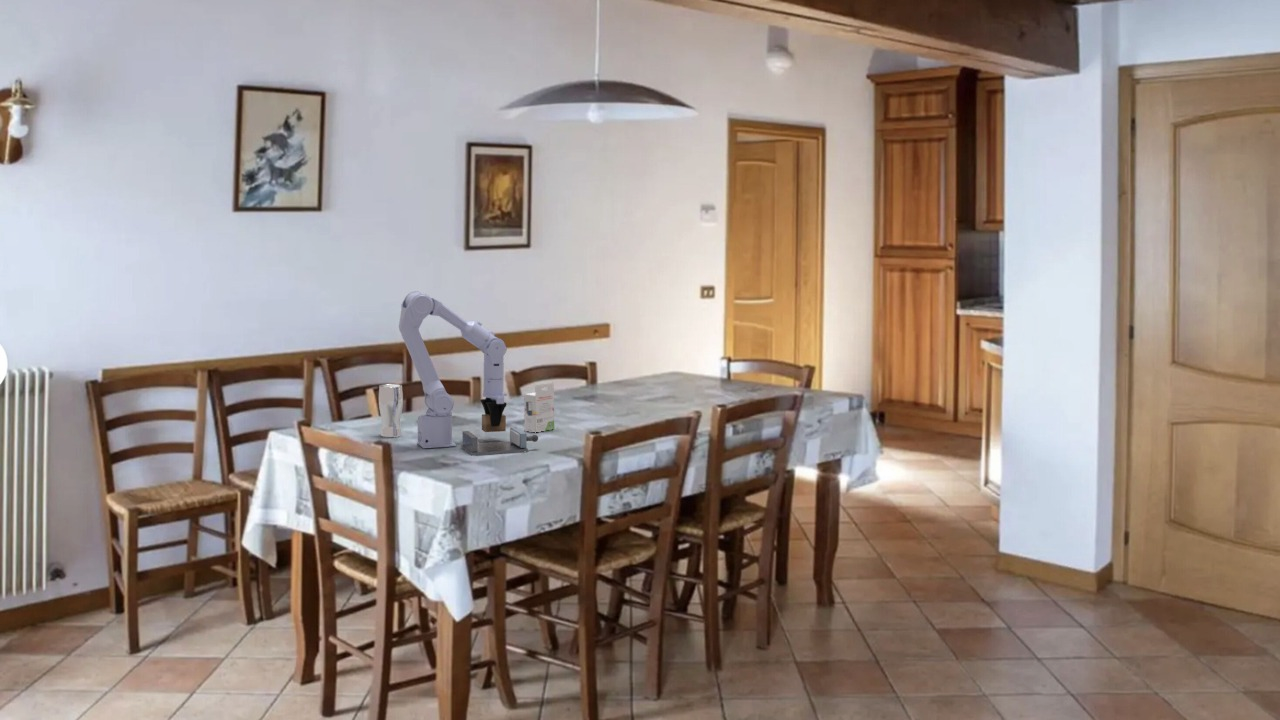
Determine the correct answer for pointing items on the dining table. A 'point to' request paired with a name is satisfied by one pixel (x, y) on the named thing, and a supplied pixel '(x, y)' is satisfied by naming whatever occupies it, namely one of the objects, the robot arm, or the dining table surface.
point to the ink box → (539, 409)
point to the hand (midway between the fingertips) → (493, 424)
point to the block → (488, 427)
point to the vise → (487, 446)
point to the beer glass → (390, 409)
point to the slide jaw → (521, 437)
